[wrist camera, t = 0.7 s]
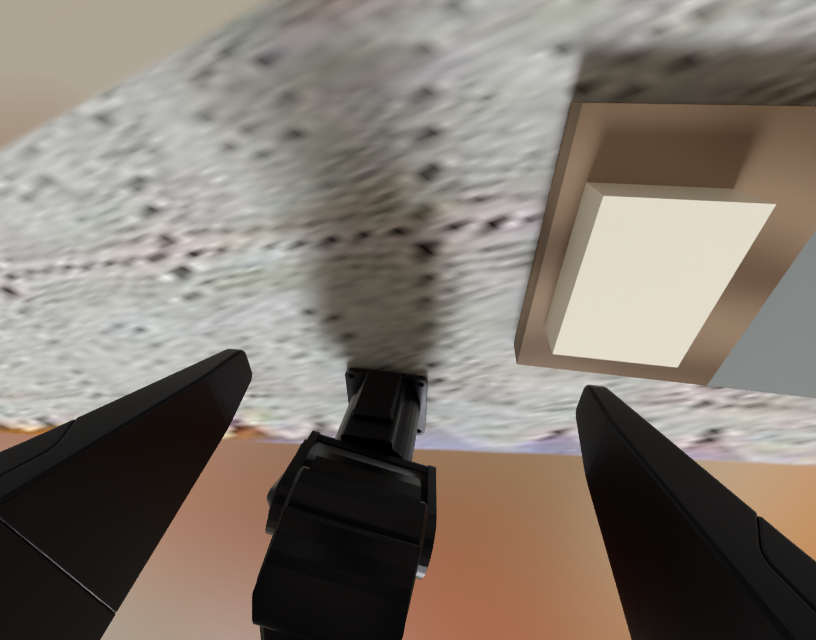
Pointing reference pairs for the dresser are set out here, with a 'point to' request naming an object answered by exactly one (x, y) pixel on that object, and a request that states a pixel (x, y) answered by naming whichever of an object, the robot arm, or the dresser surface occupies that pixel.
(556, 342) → the tile
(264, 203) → the dresser surface
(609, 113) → the board
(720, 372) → the mat
